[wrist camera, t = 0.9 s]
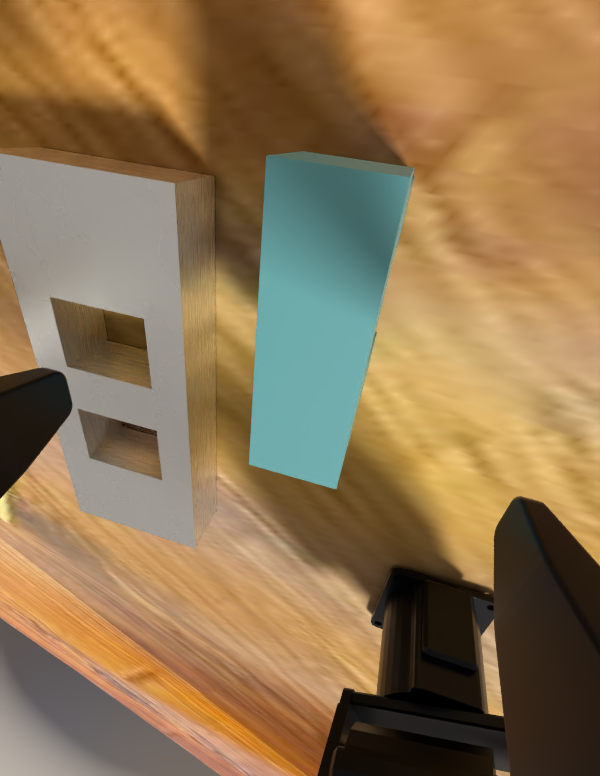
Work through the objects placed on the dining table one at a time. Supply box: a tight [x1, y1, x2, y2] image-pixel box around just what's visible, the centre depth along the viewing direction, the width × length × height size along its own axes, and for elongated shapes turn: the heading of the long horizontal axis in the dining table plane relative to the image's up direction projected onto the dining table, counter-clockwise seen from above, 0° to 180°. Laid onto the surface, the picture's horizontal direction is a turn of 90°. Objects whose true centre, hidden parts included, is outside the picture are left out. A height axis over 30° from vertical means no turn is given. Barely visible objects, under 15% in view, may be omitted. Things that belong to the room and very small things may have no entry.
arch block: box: [249, 151, 414, 489], centre depth 13 cm, size 9×3×7 cm, turn 174°
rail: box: [0, 147, 217, 548], centre depth 21 cm, size 20×8×3 cm, turn 174°
